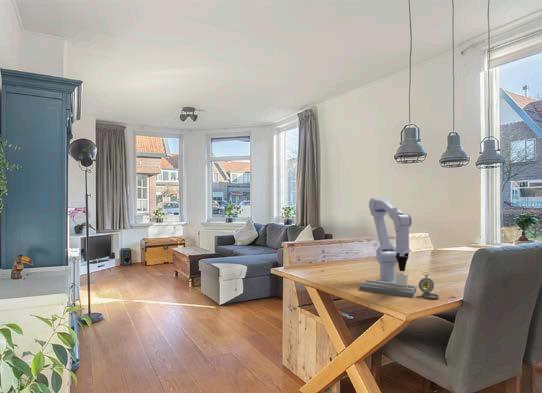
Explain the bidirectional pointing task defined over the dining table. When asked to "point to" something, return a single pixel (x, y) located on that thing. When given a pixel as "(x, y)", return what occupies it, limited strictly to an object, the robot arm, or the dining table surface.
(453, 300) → the dining table surface
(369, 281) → the fader console
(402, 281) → the fader tab
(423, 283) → the pocket watch
